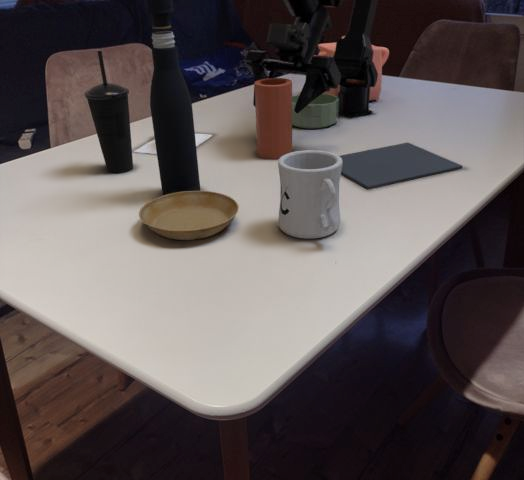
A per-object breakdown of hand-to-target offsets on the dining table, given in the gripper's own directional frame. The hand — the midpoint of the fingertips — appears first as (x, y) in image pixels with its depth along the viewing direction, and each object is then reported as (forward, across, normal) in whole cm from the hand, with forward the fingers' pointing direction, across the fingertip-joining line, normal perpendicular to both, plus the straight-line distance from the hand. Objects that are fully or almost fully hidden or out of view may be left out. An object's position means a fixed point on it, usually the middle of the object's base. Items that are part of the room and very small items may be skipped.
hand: (275, 109), depth 110 cm
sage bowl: (-10, -4, +21) cm, 24 cm away
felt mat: (+3, +22, +8) cm, 24 cm away
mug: (+26, +25, -14) cm, 38 cm away
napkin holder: (+9, -22, +3) cm, 24 cm away
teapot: (-25, -6, +37) cm, 45 cm away
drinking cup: (+22, -21, -10) cm, 31 cm away
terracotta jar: (+6, 0, +6) cm, 8 cm away
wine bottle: (+24, -2, -12) cm, 27 cm away
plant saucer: (+31, +8, -19) cm, 37 cm away
